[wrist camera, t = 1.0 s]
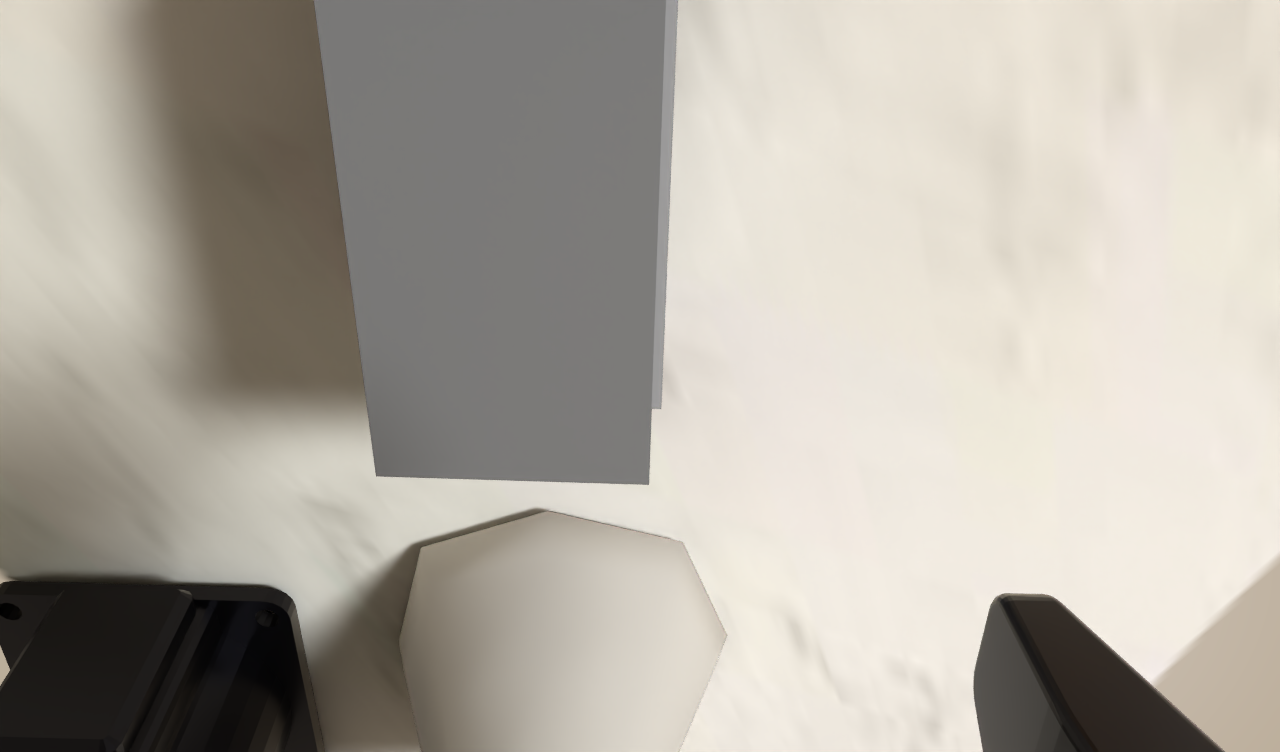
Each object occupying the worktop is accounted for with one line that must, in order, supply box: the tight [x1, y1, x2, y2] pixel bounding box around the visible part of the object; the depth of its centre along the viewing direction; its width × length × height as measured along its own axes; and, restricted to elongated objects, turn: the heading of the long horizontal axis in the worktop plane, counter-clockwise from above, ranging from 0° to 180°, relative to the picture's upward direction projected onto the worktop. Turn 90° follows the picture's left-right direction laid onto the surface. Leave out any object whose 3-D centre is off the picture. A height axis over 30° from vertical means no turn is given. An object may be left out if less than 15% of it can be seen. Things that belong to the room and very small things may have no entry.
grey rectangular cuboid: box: [314, 0, 678, 485], centre depth 16 cm, size 8×4×5 cm, turn 179°
